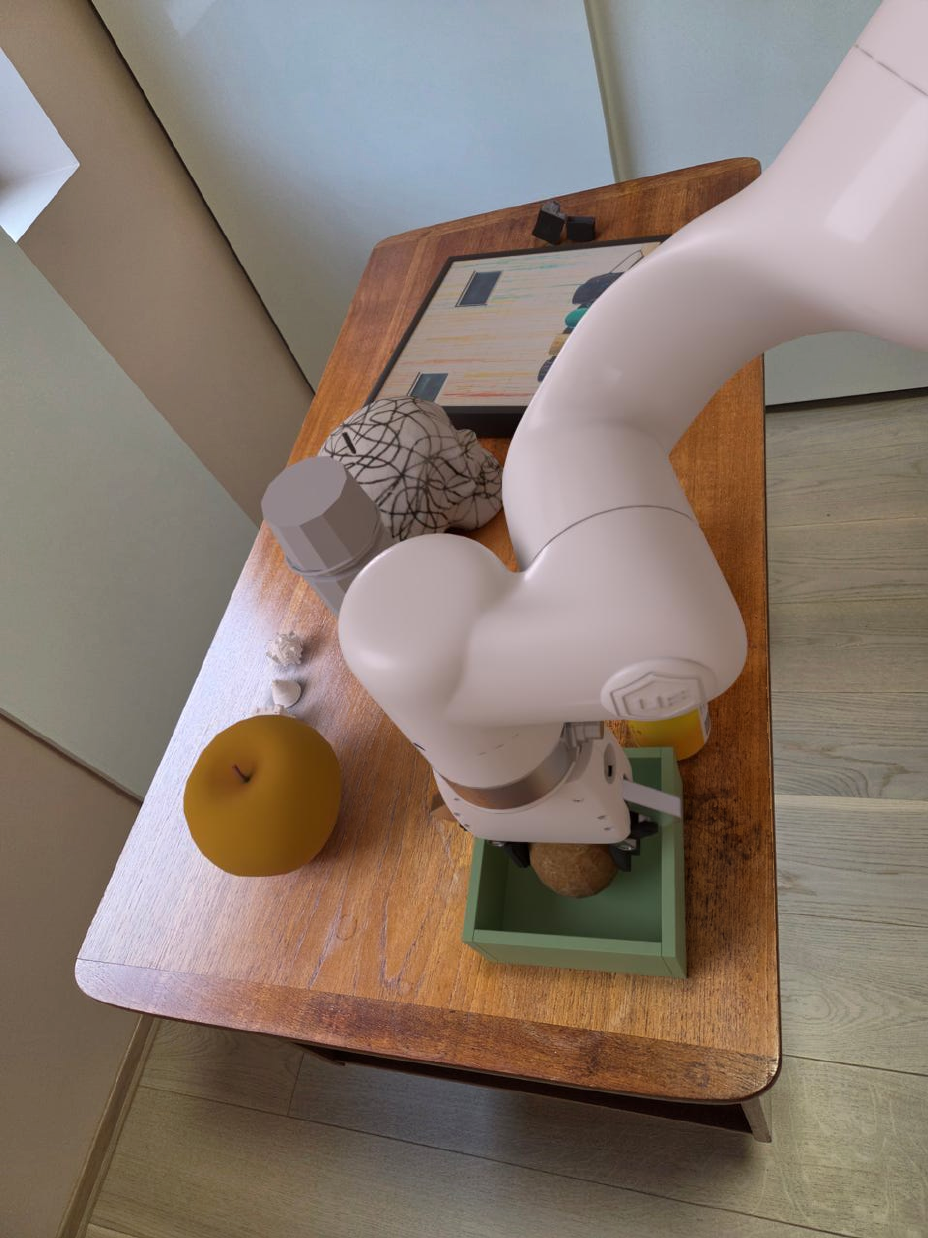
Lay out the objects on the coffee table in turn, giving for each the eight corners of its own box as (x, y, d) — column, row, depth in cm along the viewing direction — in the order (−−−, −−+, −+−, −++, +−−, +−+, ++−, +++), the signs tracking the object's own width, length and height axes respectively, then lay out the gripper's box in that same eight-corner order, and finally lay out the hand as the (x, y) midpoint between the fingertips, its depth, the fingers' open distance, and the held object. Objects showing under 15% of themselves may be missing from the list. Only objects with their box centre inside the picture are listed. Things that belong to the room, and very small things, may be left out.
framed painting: (605, 413, 78) (358, 412, 92) (611, 440, 81) (371, 436, 95) (672, 233, 92) (448, 256, 106) (675, 262, 95) (457, 280, 109)
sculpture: (528, 557, 76) (481, 446, 64) (342, 614, 80) (267, 519, 68) (505, 455, 85) (461, 342, 74) (340, 511, 89) (273, 412, 77)
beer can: (632, 697, 64) (598, 591, 52) (709, 694, 62) (692, 583, 50) (631, 766, 60) (595, 669, 49) (713, 765, 58) (695, 664, 47)
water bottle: (487, 675, 70) (373, 484, 50) (416, 728, 69) (273, 554, 50) (437, 615, 75) (318, 423, 56) (371, 664, 75) (228, 486, 55)
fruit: (612, 926, 53) (586, 892, 47) (532, 892, 56) (498, 856, 50) (643, 842, 55) (622, 799, 49) (565, 814, 59) (536, 771, 53)
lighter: (588, 249, 107) (602, 215, 102) (585, 258, 106) (599, 225, 101) (534, 225, 106) (546, 191, 102) (530, 234, 105) (542, 200, 101)
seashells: (295, 748, 72) (277, 733, 70) (263, 753, 73) (245, 738, 70) (310, 641, 79) (295, 623, 77) (281, 646, 80) (265, 629, 77)
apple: (366, 738, 70) (306, 675, 61) (378, 878, 62) (310, 829, 53) (239, 777, 72) (164, 722, 63) (235, 918, 64) (147, 877, 55)
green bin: (682, 783, 58) (673, 746, 53) (686, 979, 51) (675, 957, 46) (509, 783, 63) (485, 749, 58) (490, 962, 56) (461, 941, 51)
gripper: (676, 660, 38) (705, 796, 52) (364, 675, 44) (464, 794, 58) (679, 805, 34) (709, 912, 48) (334, 801, 40) (450, 897, 54)
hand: (575, 847), depth 53 cm, fingers closed on fruit, 6 cm apart
